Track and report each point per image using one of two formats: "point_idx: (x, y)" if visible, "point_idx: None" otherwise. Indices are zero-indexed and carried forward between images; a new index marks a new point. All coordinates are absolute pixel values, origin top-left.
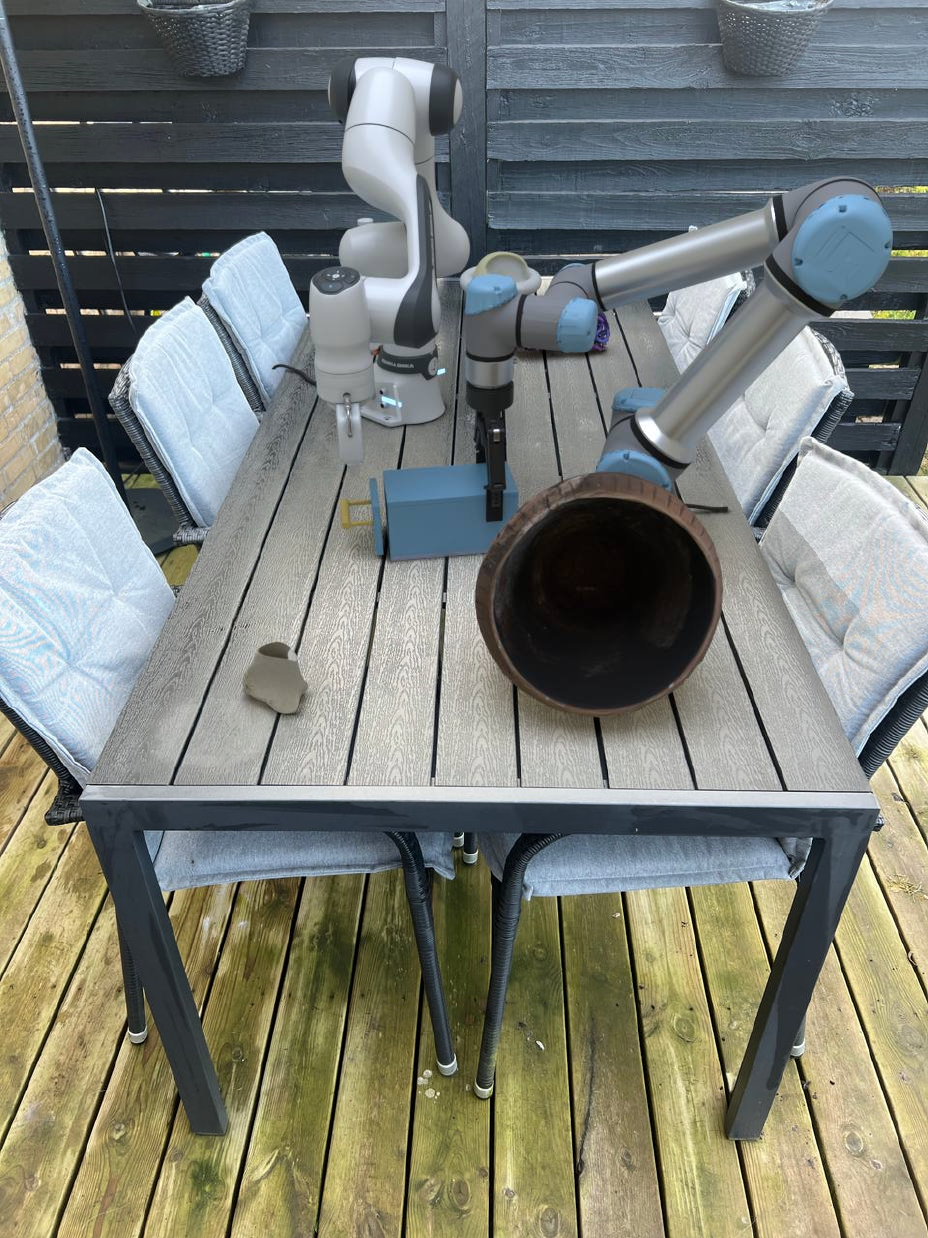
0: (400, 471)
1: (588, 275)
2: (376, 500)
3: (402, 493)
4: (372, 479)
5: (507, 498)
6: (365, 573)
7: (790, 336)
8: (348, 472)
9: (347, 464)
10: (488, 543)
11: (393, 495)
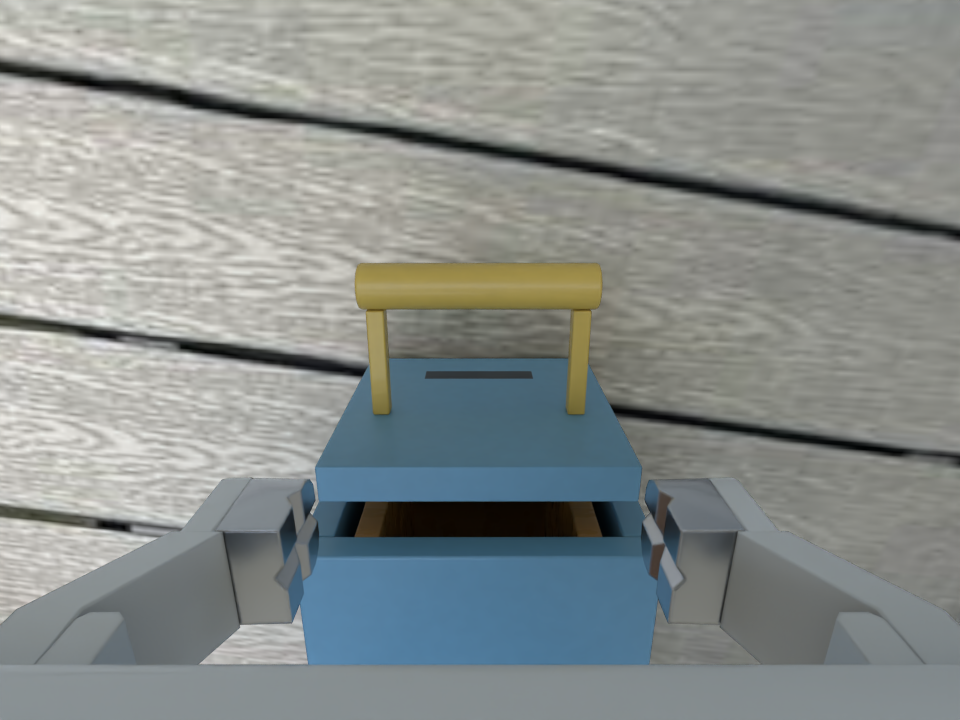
0: (625, 636)
1: None
2: (384, 489)
3: (382, 629)
4: (625, 482)
5: None
6: (293, 306)
7: None
8: (215, 490)
9: (136, 553)
10: None
11: (364, 590)
